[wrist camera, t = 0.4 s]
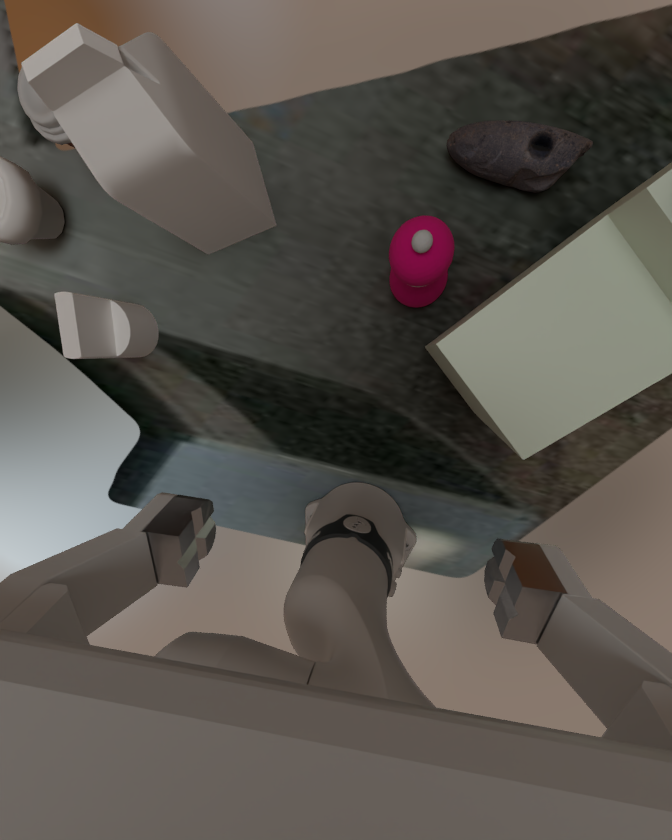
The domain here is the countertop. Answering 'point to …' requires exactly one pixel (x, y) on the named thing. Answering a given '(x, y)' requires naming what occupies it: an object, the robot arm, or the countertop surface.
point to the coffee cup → (40, 113)
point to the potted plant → (26, 207)
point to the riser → (572, 326)
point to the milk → (153, 136)
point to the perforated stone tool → (516, 152)
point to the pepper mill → (420, 260)
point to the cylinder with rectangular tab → (104, 327)
